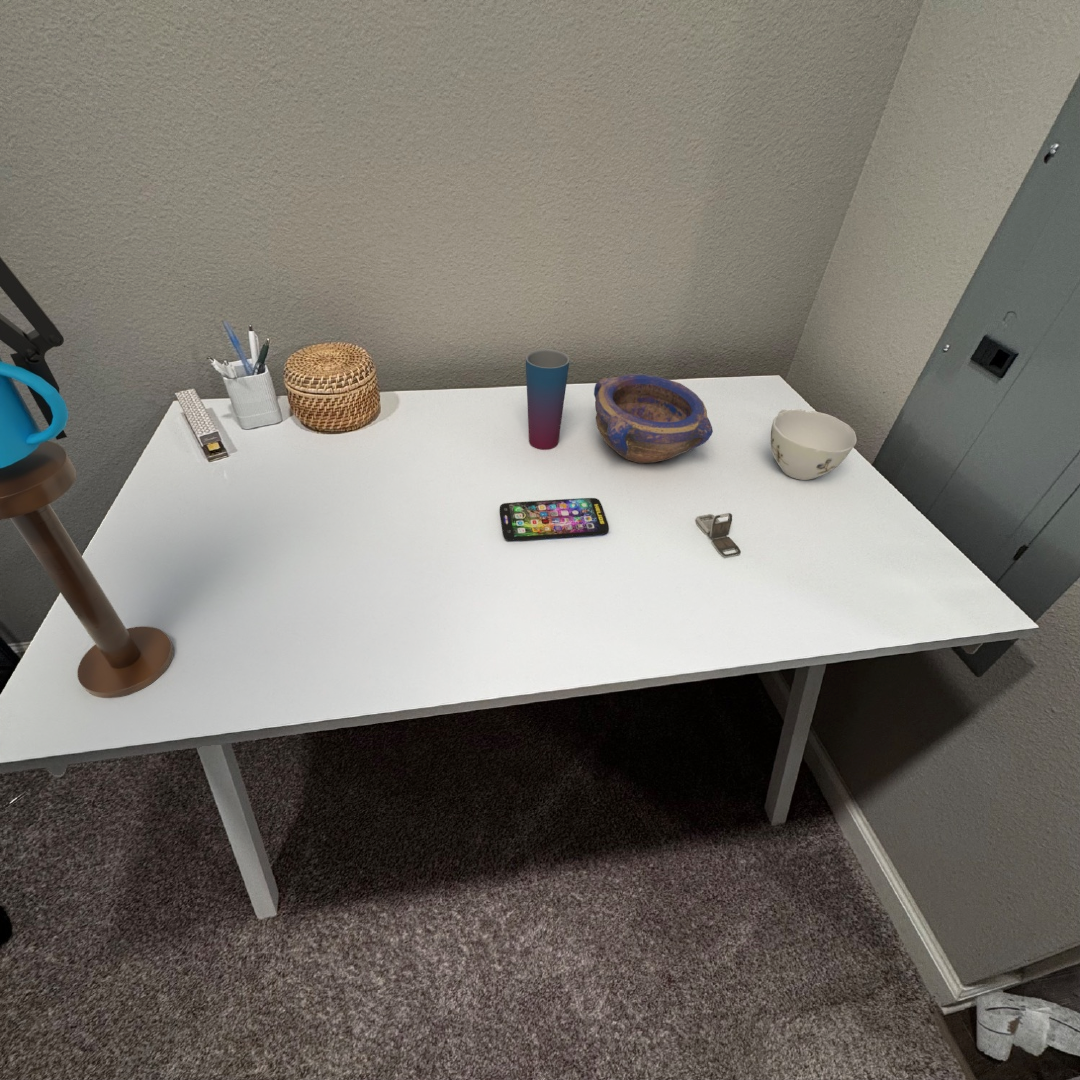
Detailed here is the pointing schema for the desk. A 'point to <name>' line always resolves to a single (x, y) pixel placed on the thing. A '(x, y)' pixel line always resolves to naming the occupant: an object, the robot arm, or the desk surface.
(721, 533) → the strap clip
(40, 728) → the desk surface
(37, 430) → the mug
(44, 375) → the robot arm
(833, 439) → the teacup
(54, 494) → the stand
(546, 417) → the cup
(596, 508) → the smartphone
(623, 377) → the bowl
